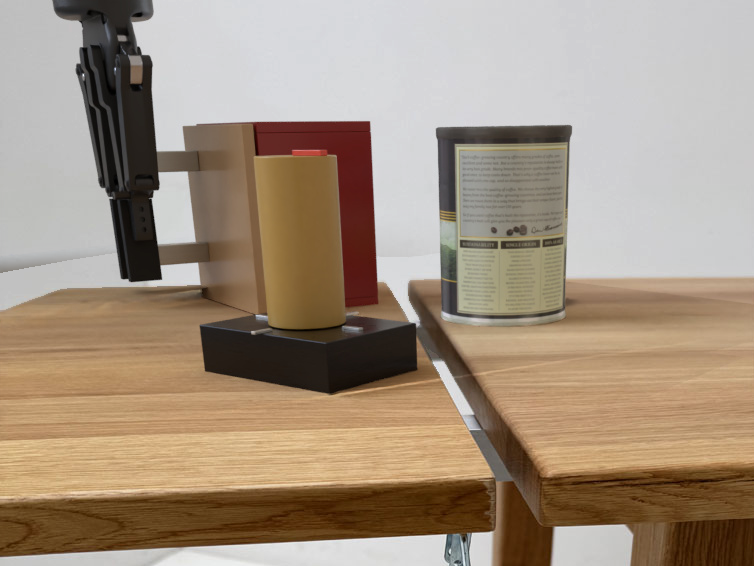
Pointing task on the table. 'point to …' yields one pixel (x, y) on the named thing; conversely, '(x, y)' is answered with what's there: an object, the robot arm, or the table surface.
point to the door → (221, 214)
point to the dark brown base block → (310, 352)
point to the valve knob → (301, 239)
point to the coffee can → (503, 223)
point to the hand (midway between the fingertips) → (141, 278)
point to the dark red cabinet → (353, 185)
